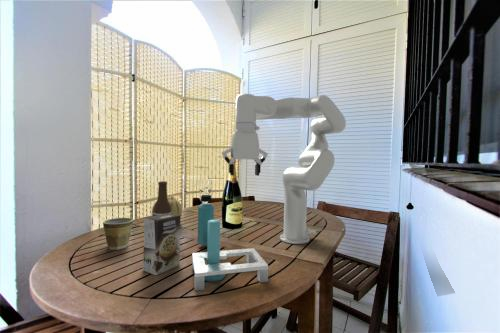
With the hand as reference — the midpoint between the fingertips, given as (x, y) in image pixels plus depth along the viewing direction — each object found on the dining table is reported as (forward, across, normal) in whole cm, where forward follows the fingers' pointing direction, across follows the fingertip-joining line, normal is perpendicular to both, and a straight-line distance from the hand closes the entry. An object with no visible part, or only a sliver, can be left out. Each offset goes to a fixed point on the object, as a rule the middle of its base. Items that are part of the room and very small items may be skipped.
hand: (244, 175), depth 91 cm
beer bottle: (+28, +30, -23) cm, 47 cm away
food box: (+28, +28, +8) cm, 41 cm away
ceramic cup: (+28, +46, -16) cm, 56 cm away
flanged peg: (+28, +13, +17) cm, 36 cm away
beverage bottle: (+28, +13, -8) cm, 32 cm away
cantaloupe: (+28, +29, -42) cm, 58 cm away
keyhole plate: (+28, +9, +17) cm, 34 cm away
